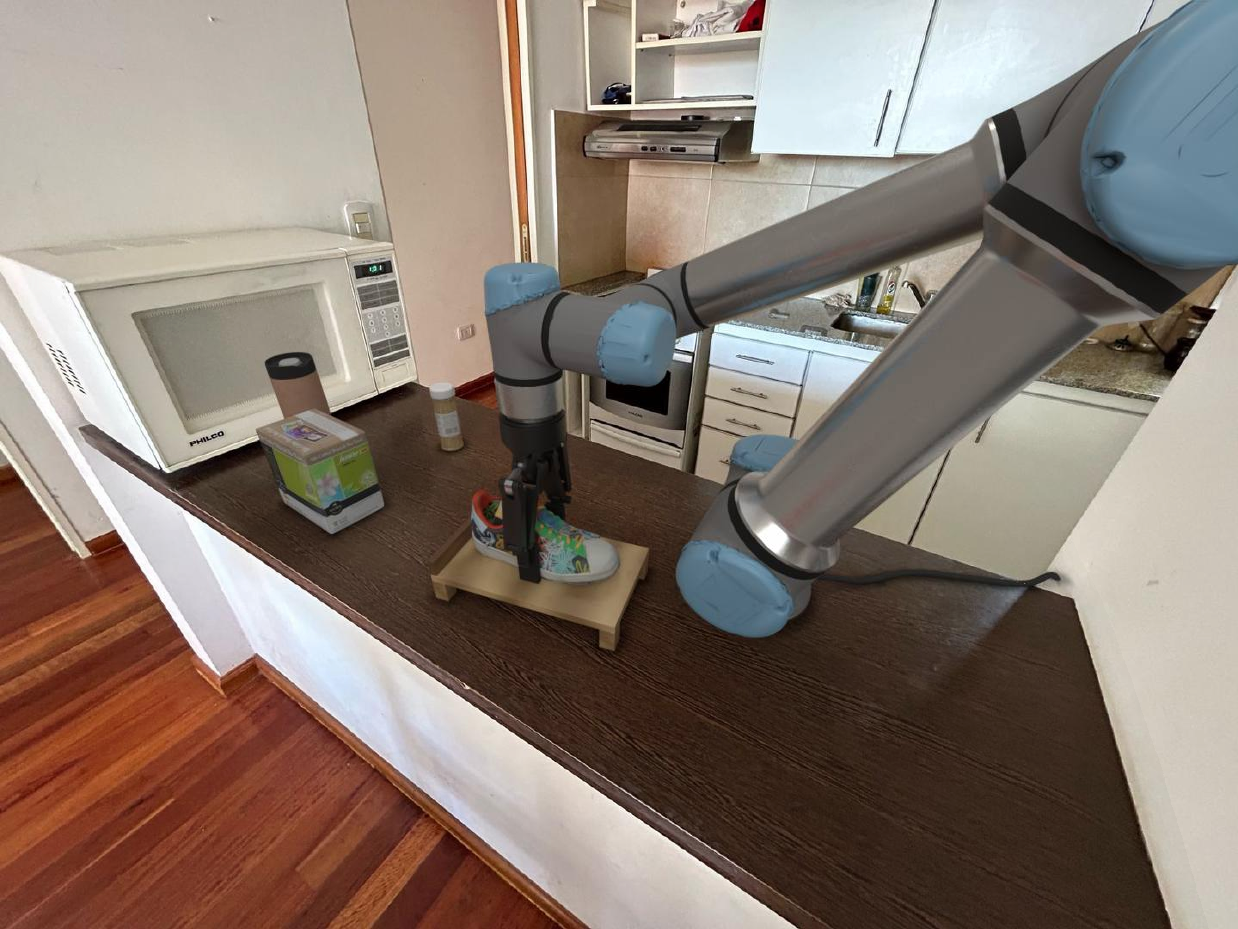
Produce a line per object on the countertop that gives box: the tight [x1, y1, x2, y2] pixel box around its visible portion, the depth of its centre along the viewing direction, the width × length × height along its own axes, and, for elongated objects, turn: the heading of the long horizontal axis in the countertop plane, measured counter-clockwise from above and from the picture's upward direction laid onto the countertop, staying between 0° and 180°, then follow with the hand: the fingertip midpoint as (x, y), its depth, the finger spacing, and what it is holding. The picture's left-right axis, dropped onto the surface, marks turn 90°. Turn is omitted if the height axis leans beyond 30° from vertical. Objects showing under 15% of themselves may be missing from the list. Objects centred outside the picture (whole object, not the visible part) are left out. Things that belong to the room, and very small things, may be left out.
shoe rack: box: [426, 515, 650, 652], centre depth 71 cm, size 26×15×7 cm, turn 71°
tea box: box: [255, 409, 385, 535], centre depth 83 cm, size 15×10×15 cm, turn 56°
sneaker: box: [470, 489, 620, 585], centre depth 68 cm, size 8×21×10 cm, turn 71°
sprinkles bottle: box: [428, 381, 464, 452], centre depth 101 cm, size 5×5×13 cm
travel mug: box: [264, 351, 333, 419], centre depth 96 cm, size 8×8×20 cm
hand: (544, 559), depth 70 cm, fingers closed on sneaker, 7 cm apart
